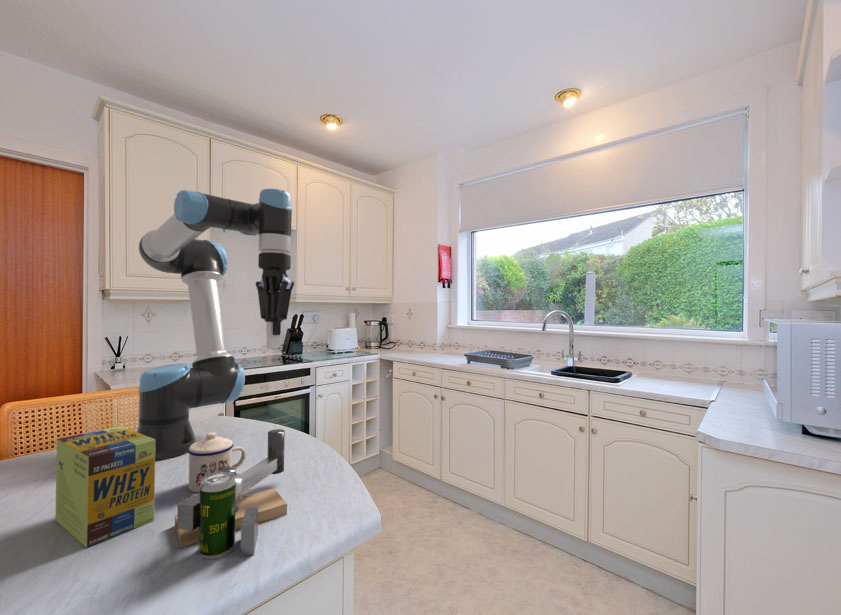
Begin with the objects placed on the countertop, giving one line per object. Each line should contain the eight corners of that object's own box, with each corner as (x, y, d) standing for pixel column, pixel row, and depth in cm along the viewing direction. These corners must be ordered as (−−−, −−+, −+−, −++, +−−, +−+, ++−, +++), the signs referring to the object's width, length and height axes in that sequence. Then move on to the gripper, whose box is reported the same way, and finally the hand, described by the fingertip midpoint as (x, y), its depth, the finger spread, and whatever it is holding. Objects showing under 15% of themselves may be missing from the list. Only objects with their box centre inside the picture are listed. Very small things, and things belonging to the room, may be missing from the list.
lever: (198, 537, 63) (199, 482, 63) (171, 533, 64) (172, 479, 64) (290, 468, 91) (290, 430, 90) (270, 466, 92) (270, 428, 92)
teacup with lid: (192, 498, 82) (193, 443, 82) (183, 483, 89) (184, 432, 89) (251, 482, 90) (252, 431, 90) (239, 469, 97) (239, 422, 97)
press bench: (174, 525, 72) (175, 514, 72) (274, 497, 83) (274, 488, 83) (180, 547, 66) (180, 535, 66) (286, 513, 77) (287, 503, 77)
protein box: (86, 549, 65) (87, 456, 65) (54, 520, 73) (55, 438, 73) (155, 520, 74) (157, 438, 74) (120, 498, 82) (121, 424, 82)
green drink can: (226, 536, 69) (227, 469, 69) (240, 549, 65) (241, 478, 65) (193, 550, 65) (194, 478, 65) (206, 565, 61) (207, 489, 61)
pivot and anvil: (213, 519, 74) (214, 469, 74) (244, 511, 77) (244, 462, 77) (231, 562, 62) (232, 502, 62) (267, 550, 65) (268, 492, 65)
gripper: (304, 253, 96) (302, 349, 96) (273, 256, 103) (271, 345, 104) (276, 249, 90) (275, 351, 90) (246, 253, 97) (244, 347, 98)
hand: (273, 348), depth 97 cm, fingers closed
